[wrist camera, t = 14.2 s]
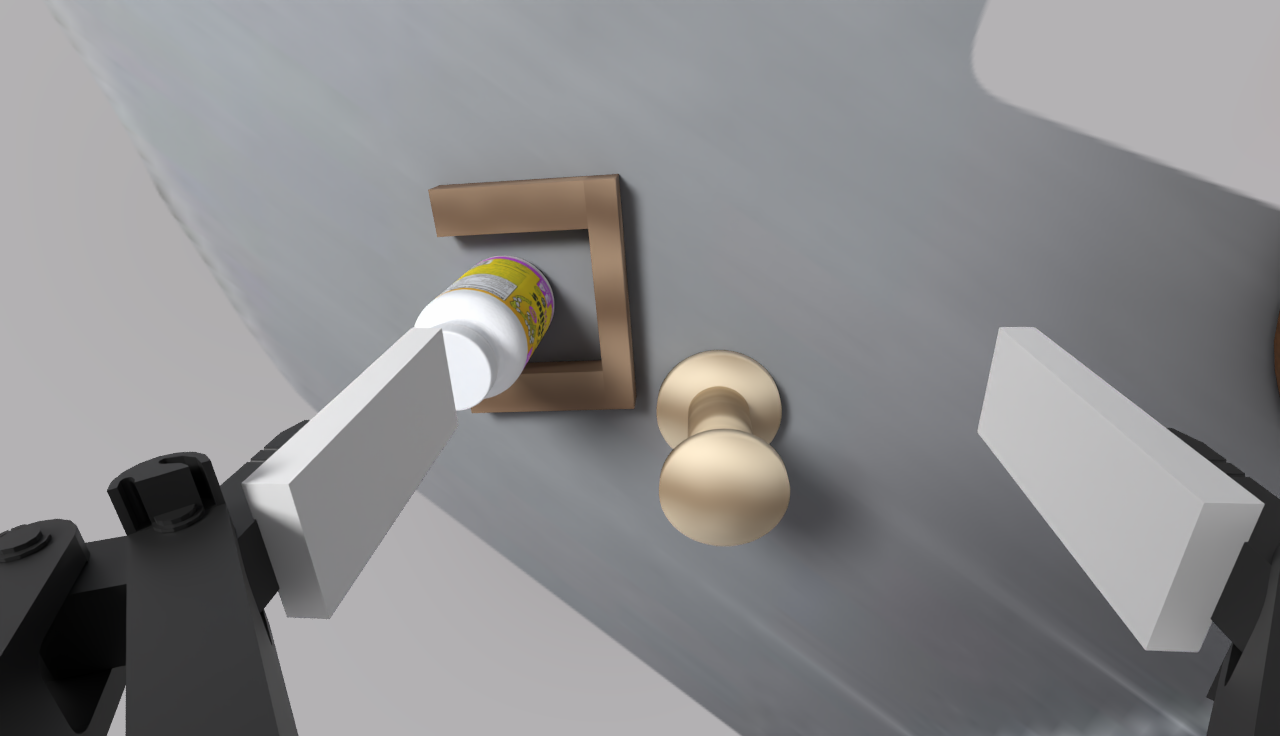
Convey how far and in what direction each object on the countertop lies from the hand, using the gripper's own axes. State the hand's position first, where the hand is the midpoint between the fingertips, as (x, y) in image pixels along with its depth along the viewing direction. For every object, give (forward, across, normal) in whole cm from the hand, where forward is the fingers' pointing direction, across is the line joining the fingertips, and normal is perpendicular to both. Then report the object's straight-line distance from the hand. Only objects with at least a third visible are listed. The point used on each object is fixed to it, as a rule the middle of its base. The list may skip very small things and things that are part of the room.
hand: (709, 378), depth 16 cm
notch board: (+29, -11, -8) cm, 32 cm away
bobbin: (+29, +1, -16) cm, 33 cm away
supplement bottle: (+29, -13, -8) cm, 33 cm away
